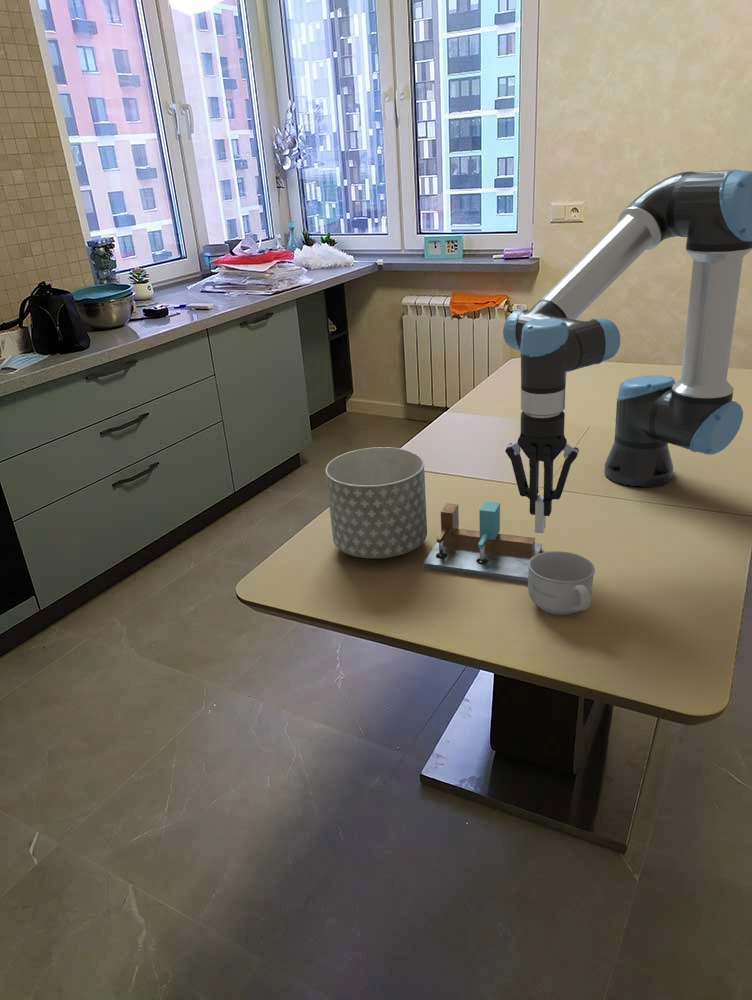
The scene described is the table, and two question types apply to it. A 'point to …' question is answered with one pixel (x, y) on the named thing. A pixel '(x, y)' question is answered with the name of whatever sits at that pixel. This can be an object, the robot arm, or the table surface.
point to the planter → (377, 501)
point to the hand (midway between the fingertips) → (540, 529)
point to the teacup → (560, 582)
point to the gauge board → (463, 554)
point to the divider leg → (488, 523)
